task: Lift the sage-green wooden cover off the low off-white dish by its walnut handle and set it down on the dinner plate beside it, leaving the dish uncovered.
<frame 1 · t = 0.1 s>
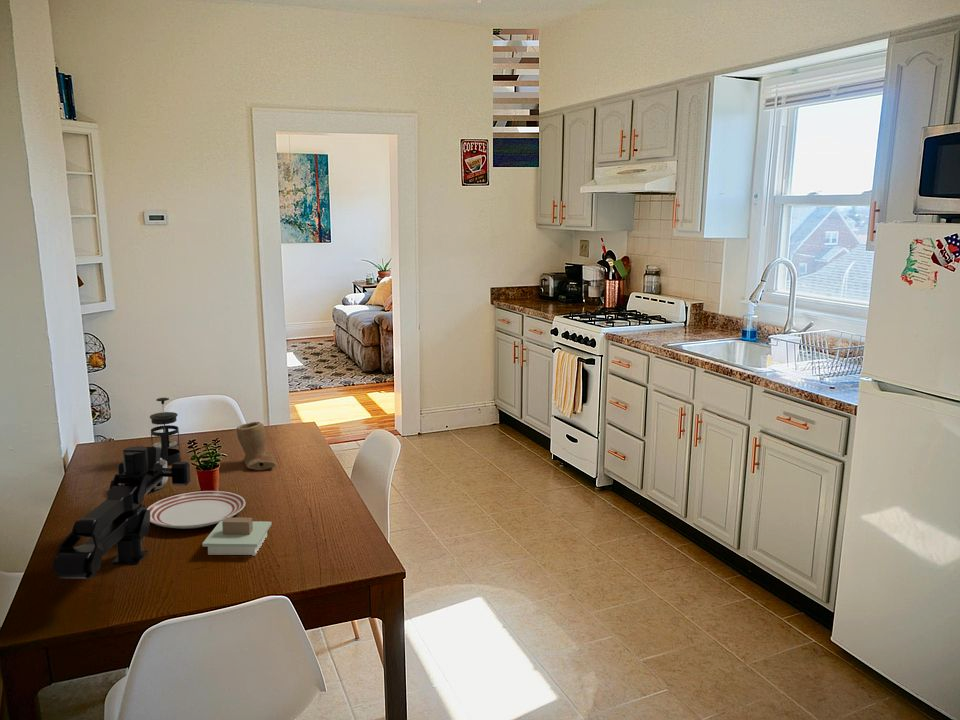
hand: (166, 463, 209), 17 cm above the table, tool horizontal, fingers open, 9 cm apart
dinner plate: (196, 517, 214), on the table
beige boot: (256, 465, 257), on the table
cover: (238, 535, 195), point 3 cm above the table, touching dish
french press: (166, 462, 259), on the table
dish: (238, 545, 196), on the table
teacup: (153, 486, 236), on the table
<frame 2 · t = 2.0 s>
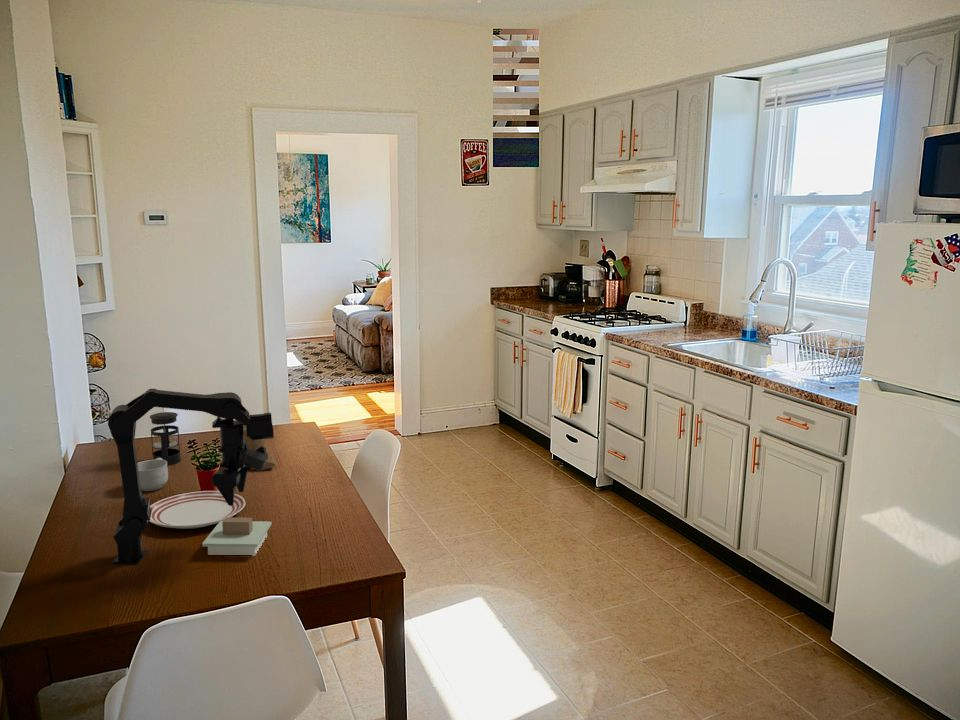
hand: (236, 498, 193), 13 cm above the table, tool pointing down, fingers open, 9 cm apart
nothing on the table moved.
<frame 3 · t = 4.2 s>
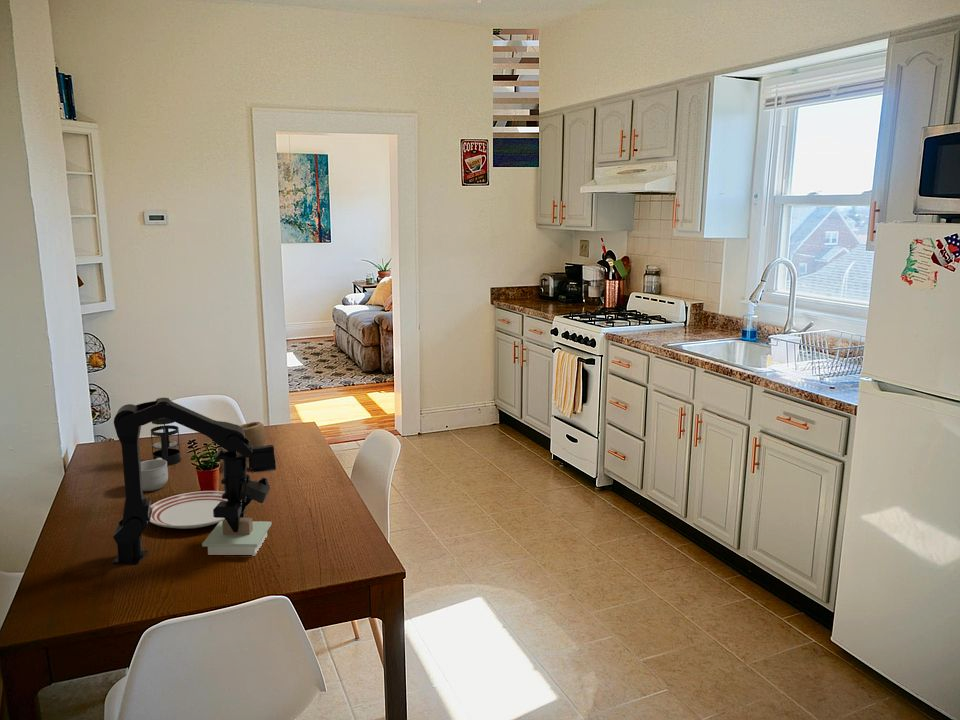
hand: (237, 529, 195), 5 cm above the table, tool pointing down, fingers closed on cover, 3 cm apart
cover: (238, 535, 195), point 3 cm above the table, touching dish, gripper
everything else where it was.
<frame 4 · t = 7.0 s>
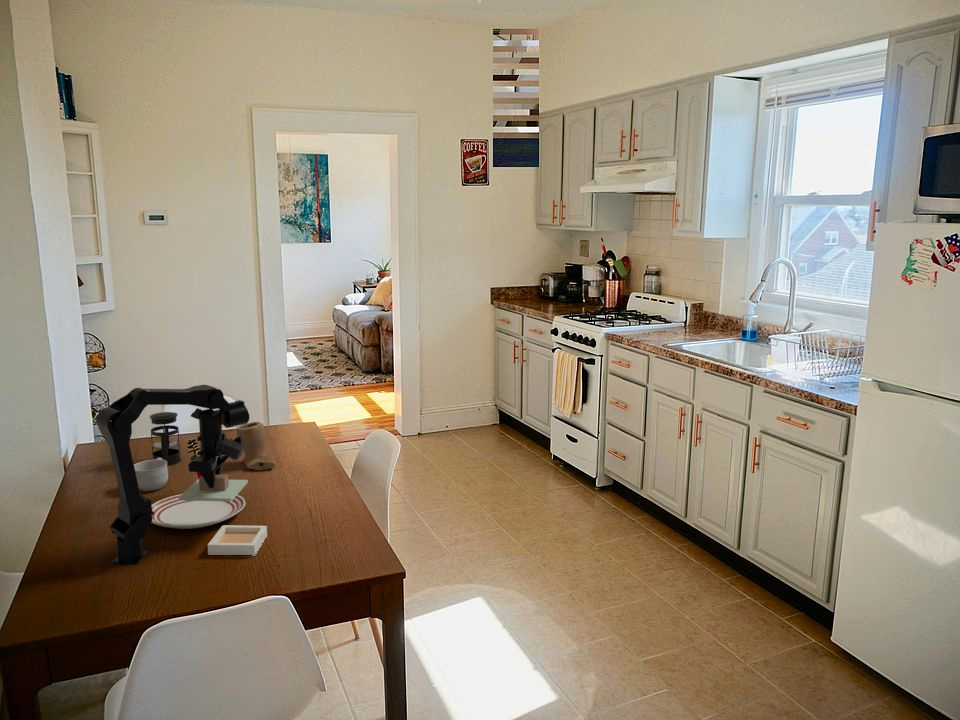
hand: (213, 485, 203), 13 cm above the table, tool pointing down, fingers closed on cover, 3 cm apart
cover: (214, 491, 203), point 11 cm above the table, touching gripper
everything else where it was.
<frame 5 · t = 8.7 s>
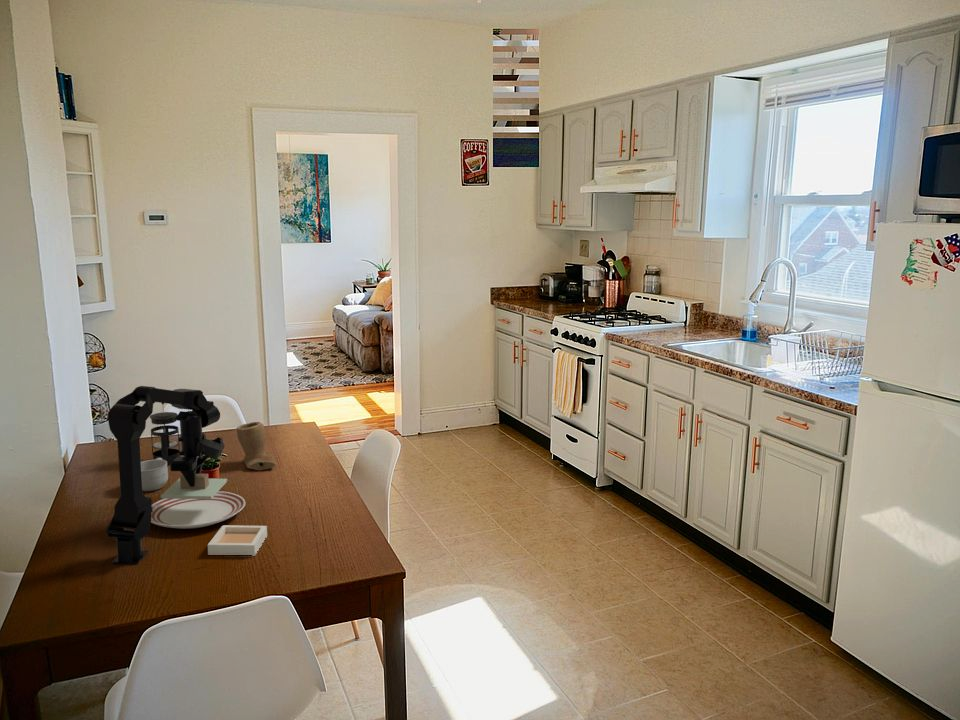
hand: (194, 484, 212), 10 cm above the table, tool pointing down, fingers closed on cover, 3 cm apart
cover: (195, 489, 212), point 8 cm above the table, touching gripper
everything else where it was.
when the fingers open (6 cm above the table, at t = 10.0 s): cover drops 2 cm, resting on dinner plate.
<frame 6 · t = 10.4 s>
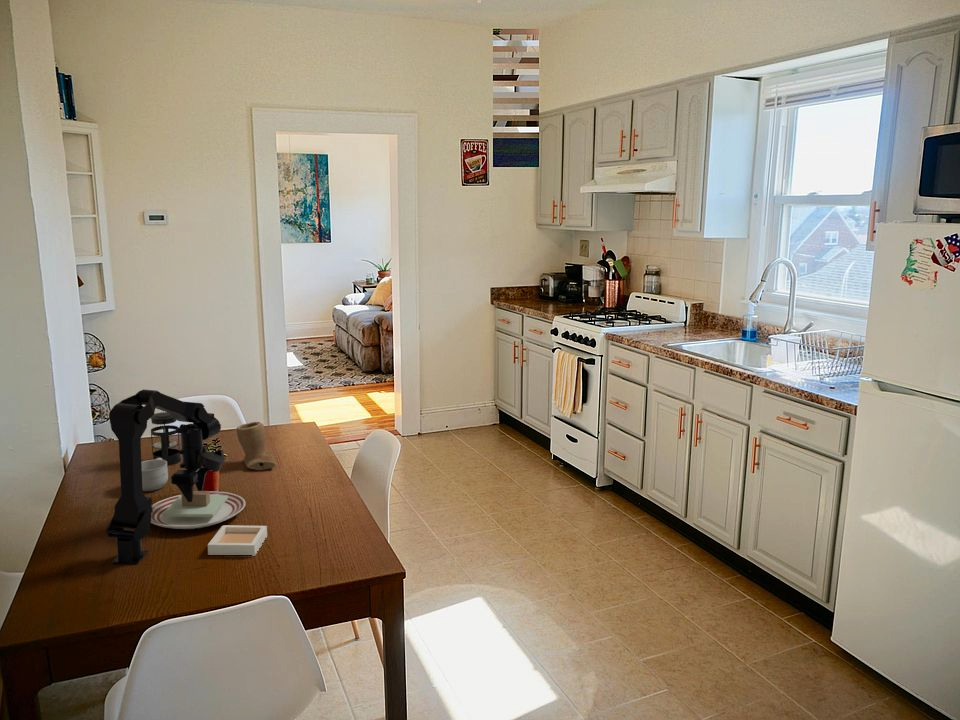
hand: (195, 496, 213), 6 cm above the table, tool pointing down, fingers open, 8 cm apart
dinner plate: (196, 517, 214), on the table, touching cover
cover: (196, 506, 213), point 3 cm above the table, touching dinner plate
everything else where it was.
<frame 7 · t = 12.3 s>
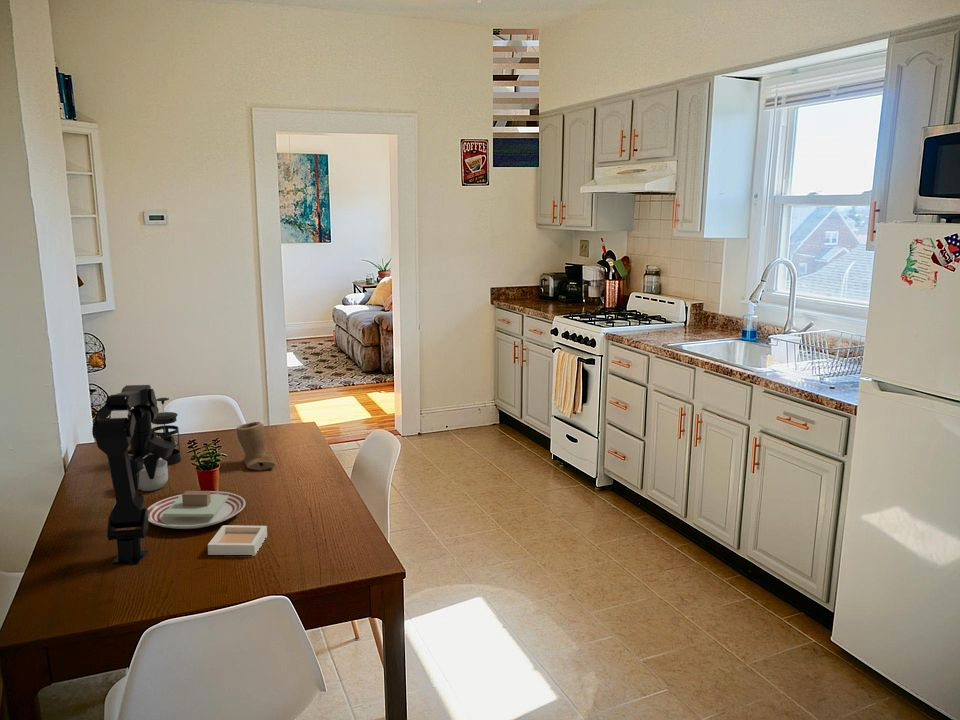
hand: (144, 484, 203), 13 cm above the table, tool pointing down, fingers open, 9 cm apart
nothing on the table moved.
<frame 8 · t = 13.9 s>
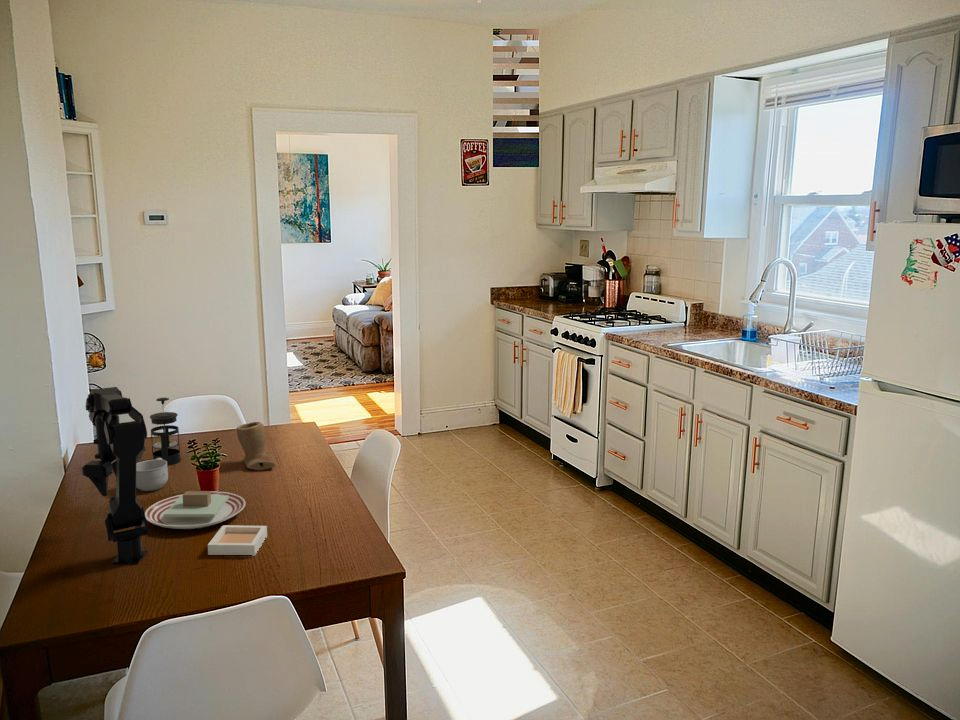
hand: (113, 489, 198), 13 cm above the table, tool pointing down, fingers open, 9 cm apart
nothing on the table moved.
at the end: cover 0.6 cm from the dinner plate (horizontally); the gripper is holding nothing; cover point 2.9 cm above the table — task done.
